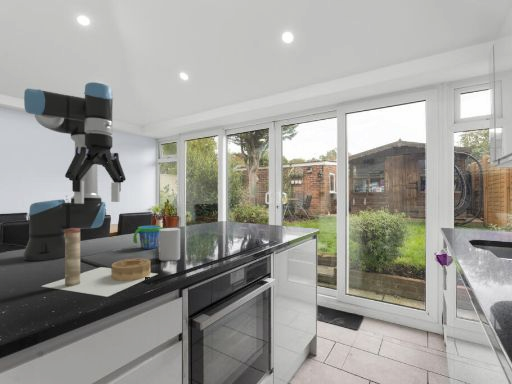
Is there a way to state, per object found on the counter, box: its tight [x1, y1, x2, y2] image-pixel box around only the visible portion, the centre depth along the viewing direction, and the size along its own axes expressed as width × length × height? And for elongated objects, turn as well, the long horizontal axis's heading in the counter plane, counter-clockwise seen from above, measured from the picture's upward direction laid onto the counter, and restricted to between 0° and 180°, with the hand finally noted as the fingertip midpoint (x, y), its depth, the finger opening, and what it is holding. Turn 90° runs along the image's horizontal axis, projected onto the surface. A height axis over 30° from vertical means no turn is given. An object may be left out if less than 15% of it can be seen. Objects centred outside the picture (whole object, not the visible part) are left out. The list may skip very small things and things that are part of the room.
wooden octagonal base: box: [110, 258, 152, 281], centre depth 86 cm, size 11×11×4 cm
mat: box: [41, 266, 158, 298], centre depth 82 cm, size 24×20×1 cm
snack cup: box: [132, 224, 164, 250], centre depth 130 cm, size 16×10×10 cm
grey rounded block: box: [158, 227, 181, 262], centre depth 109 cm, size 8×8×12 cm
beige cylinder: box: [64, 228, 81, 286], centre depth 78 cm, size 4×4×16 cm
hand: (98, 202), depth 84 cm, fingers open, 13 cm apart
